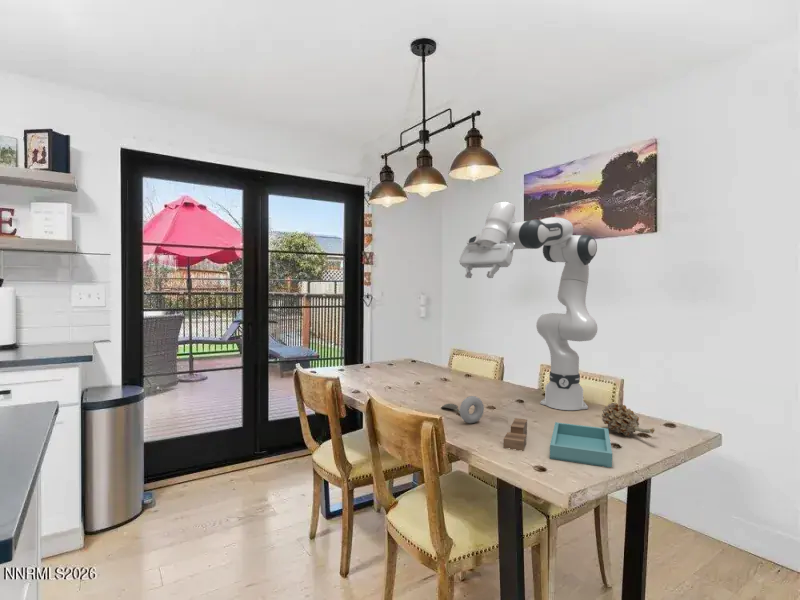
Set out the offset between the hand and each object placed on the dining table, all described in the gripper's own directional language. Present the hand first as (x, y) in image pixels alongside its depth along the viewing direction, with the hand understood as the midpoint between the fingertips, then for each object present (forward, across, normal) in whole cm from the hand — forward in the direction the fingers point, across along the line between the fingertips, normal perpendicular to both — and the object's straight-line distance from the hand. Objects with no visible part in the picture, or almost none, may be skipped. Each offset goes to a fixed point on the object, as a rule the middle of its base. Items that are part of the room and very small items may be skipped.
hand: (478, 277), depth 153 cm
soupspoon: (+42, +19, -35) cm, 58 cm away
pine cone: (+29, -35, -58) cm, 74 cm away
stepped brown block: (+45, -14, -28) cm, 55 cm away
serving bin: (+40, -31, -36) cm, 63 cm away
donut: (+44, +7, -31) cm, 54 cm away
